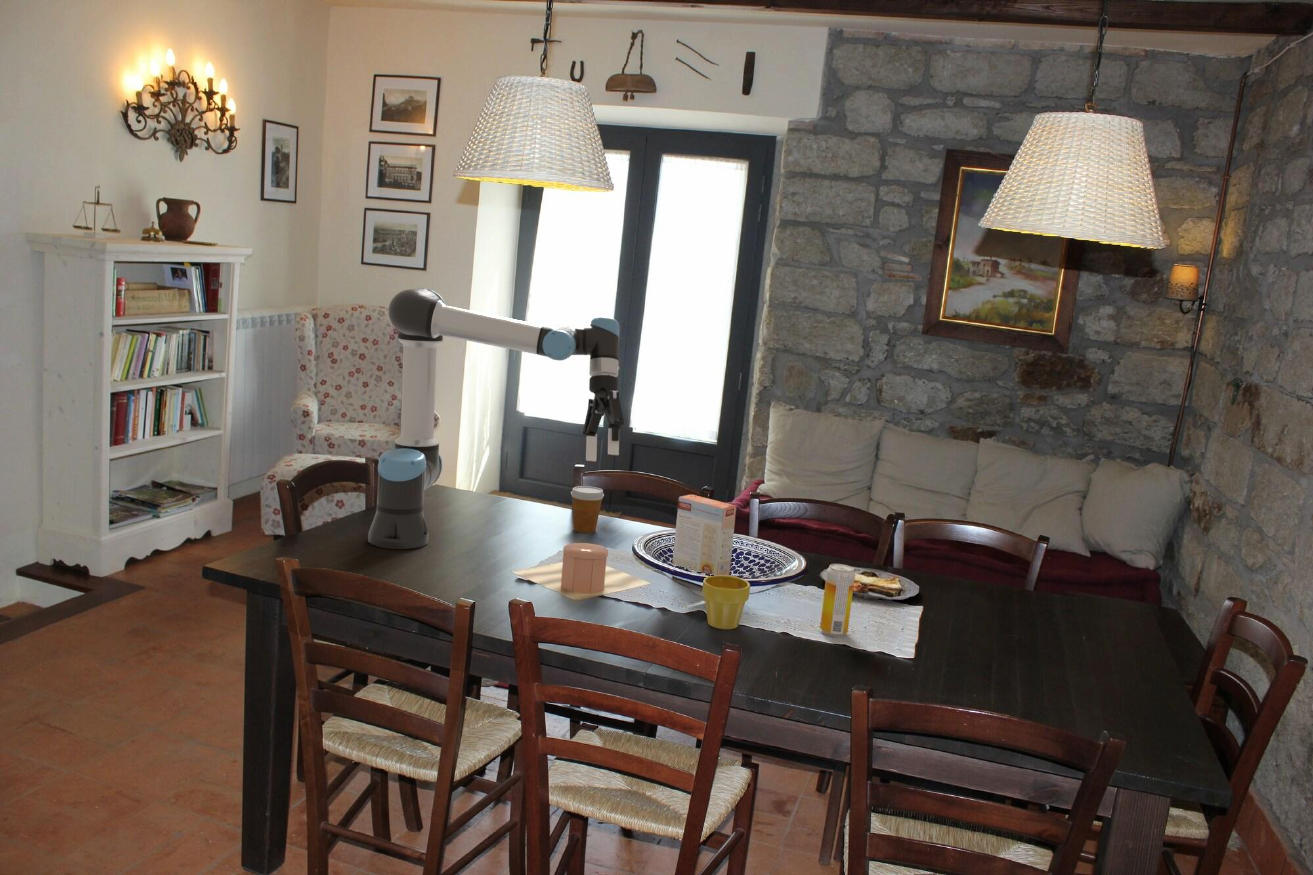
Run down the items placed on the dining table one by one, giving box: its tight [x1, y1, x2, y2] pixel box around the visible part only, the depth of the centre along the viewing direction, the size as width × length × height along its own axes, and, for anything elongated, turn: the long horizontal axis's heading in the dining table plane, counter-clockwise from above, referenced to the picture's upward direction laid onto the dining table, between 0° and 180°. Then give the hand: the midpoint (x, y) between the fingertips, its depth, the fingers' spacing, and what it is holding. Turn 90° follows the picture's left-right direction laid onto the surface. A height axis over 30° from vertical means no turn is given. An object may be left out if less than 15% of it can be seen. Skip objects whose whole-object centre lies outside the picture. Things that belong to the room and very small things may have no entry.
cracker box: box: [671, 494, 737, 576], centre depth 245 cm, size 14×6×21 cm, turn 50°
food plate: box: [818, 566, 920, 601], centre depth 254 cm, size 25×23×4 cm
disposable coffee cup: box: [570, 485, 605, 534], centre depth 284 cm, size 10×10×12 cm
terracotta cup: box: [561, 542, 609, 594], centre depth 233 cm, size 10×10×9 cm
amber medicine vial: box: [819, 563, 855, 638], centre depth 218 cm, size 6×6×15 cm
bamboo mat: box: [511, 561, 652, 602], centre depth 240 cm, size 24×24×1 cm
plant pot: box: [701, 575, 751, 630], centre depth 217 cm, size 10×10×10 cm
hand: (601, 457), depth 255 cm, fingers open, 13 cm apart
